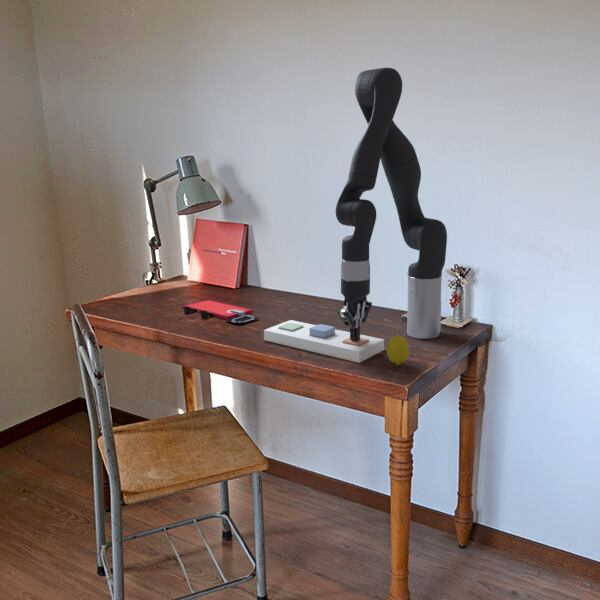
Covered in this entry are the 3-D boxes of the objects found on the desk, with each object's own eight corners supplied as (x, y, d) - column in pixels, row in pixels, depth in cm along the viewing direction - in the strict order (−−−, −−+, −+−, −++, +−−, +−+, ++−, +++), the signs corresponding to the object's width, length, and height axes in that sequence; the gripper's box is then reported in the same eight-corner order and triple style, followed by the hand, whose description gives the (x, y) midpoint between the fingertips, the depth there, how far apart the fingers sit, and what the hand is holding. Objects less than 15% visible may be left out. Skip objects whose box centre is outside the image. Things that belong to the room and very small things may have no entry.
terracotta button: (353, 344, 192) (353, 335, 191) (368, 348, 189) (369, 339, 188) (342, 349, 188) (342, 340, 187) (358, 353, 185) (358, 344, 184)
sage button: (289, 330, 205) (289, 322, 204) (303, 333, 202) (303, 325, 201) (278, 335, 201) (278, 326, 200) (292, 338, 198) (292, 329, 197)
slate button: (320, 332, 198) (320, 323, 197) (335, 335, 195) (335, 326, 194) (309, 337, 194) (309, 328, 193) (324, 340, 191) (324, 331, 190)
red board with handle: (234, 327, 212) (270, 317, 223) (234, 318, 212) (269, 309, 222) (172, 312, 232) (208, 303, 243) (172, 303, 232) (207, 295, 242)
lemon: (386, 368, 176) (386, 338, 174) (387, 361, 182) (387, 331, 180) (408, 369, 176) (409, 339, 173) (409, 362, 181) (409, 332, 179)
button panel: (290, 329, 209) (290, 319, 208) (383, 350, 190) (384, 339, 189) (264, 340, 200) (263, 330, 199) (359, 362, 181) (359, 351, 180)
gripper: (357, 269, 190) (357, 331, 195) (328, 279, 180) (328, 344, 185) (381, 273, 186) (380, 336, 190) (353, 283, 176) (352, 349, 180)
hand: (355, 340), depth 188 cm, fingers closed
